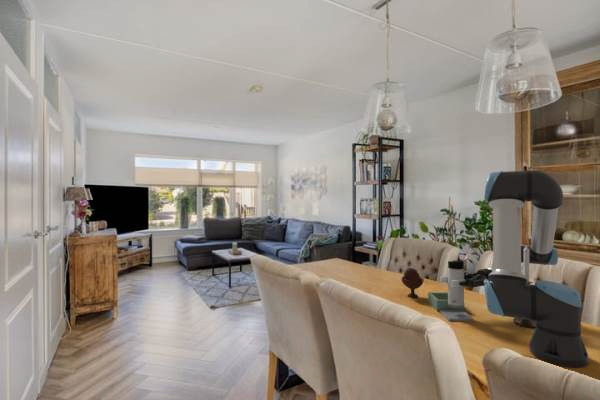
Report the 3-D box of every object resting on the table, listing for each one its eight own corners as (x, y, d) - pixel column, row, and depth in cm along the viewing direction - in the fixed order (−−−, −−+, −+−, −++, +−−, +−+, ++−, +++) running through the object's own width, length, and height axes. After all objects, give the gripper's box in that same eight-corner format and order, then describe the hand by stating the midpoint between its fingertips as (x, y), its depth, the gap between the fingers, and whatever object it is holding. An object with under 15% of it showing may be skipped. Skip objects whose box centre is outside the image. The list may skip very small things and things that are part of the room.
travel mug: (455, 309, 136) (455, 262, 136) (444, 304, 143) (444, 259, 142) (468, 307, 138) (468, 261, 137) (456, 302, 144) (456, 258, 144)
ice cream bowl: (425, 300, 162) (425, 270, 161) (402, 299, 164) (402, 269, 164) (422, 293, 172) (422, 265, 172) (400, 292, 174) (400, 265, 174)
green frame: (464, 311, 146) (464, 300, 146) (436, 311, 147) (436, 300, 147) (453, 302, 158) (453, 292, 158) (428, 302, 159) (428, 292, 158)
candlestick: (505, 318, 138) (505, 235, 137) (534, 319, 136) (533, 236, 135) (518, 328, 127) (518, 239, 126) (549, 330, 125) (549, 239, 125)
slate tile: (473, 321, 135) (473, 318, 135) (448, 320, 136) (448, 318, 136) (462, 312, 145) (462, 310, 145) (440, 312, 146) (440, 309, 146)
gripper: (508, 291, 136) (463, 297, 130) (472, 279, 154) (431, 284, 148) (508, 273, 136) (463, 278, 129) (472, 264, 154) (431, 268, 148)
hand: (446, 281), depth 139 cm, fingers closed on travel mug, 6 cm apart
